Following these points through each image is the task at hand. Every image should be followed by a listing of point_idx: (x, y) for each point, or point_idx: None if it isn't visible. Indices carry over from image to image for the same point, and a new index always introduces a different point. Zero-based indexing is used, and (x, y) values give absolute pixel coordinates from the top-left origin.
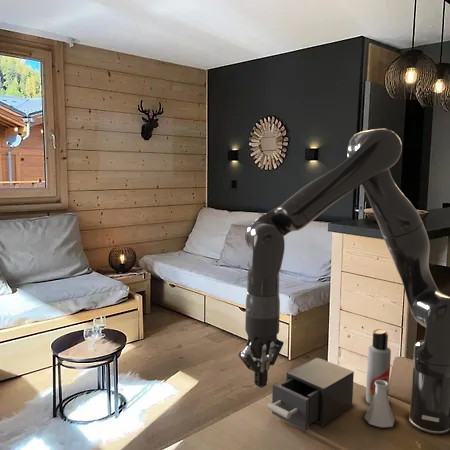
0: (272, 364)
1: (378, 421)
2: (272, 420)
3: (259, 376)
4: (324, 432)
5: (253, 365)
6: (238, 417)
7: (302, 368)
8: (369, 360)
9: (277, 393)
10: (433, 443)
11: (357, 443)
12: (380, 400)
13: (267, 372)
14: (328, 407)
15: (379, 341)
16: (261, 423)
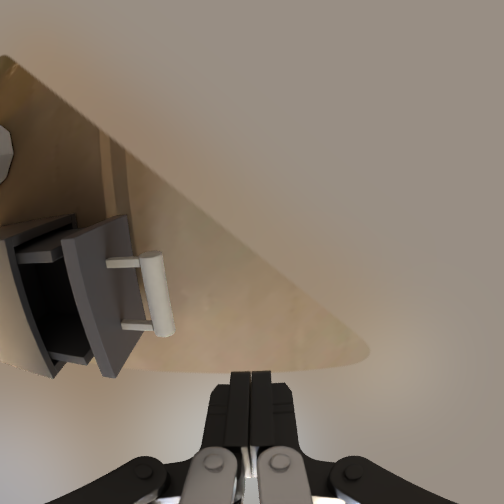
0: (154, 465)
1: (2, 139)
2: None
3: (292, 430)
4: (89, 189)
5: (412, 501)
6: (222, 366)
7: (12, 356)
8: None
9: (117, 347)
10: (4, 60)
11: (69, 114)
12: None
13: (204, 433)
14: (34, 223)
15: None
16: (191, 319)
